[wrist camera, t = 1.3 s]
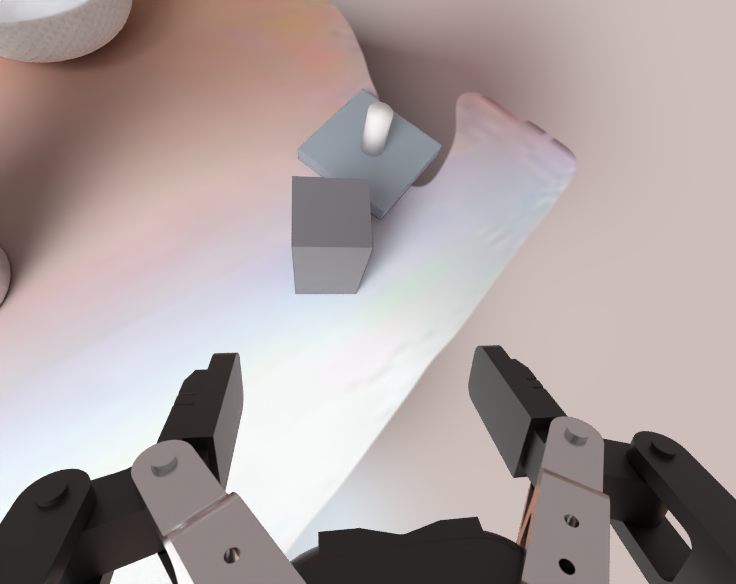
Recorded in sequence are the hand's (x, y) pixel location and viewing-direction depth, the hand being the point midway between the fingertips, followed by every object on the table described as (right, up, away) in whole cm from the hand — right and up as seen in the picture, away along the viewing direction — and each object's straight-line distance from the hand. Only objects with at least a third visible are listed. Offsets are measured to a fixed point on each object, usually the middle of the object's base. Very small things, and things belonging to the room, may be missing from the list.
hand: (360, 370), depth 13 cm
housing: (-4, +5, +22) cm, 23 cm away
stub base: (0, +16, +26) cm, 31 cm away
